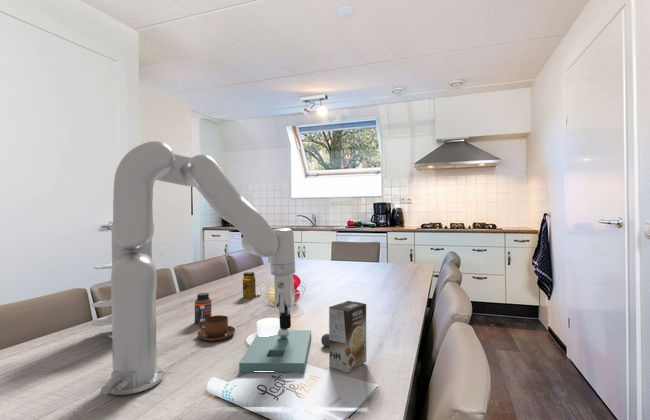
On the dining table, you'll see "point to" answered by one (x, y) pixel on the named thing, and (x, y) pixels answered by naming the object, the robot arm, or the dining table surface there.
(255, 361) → the grey-green flat board
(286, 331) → the ball
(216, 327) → the cup and saucer
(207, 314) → the supplement bottle
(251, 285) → the condiment
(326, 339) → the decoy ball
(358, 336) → the coffee box
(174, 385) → the dining table surface
